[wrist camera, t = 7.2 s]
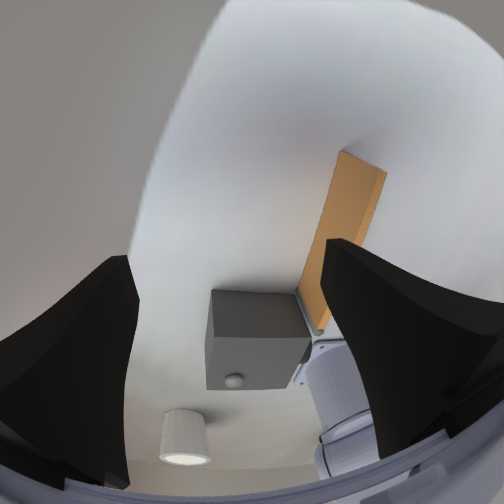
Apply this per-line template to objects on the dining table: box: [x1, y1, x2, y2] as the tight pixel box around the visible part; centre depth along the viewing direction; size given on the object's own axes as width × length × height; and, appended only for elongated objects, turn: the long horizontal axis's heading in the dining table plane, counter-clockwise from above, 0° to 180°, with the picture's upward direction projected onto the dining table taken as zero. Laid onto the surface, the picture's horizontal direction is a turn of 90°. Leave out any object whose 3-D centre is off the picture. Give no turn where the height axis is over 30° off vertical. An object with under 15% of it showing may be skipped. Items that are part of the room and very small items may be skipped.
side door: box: [296, 151, 387, 336], centre depth 18 cm, size 12×1×5 cm, turn 169°
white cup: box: [160, 409, 211, 465], centre depth 30 cm, size 7×7×7 cm
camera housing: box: [205, 290, 312, 390], centre depth 22 cm, size 8×7×6 cm
